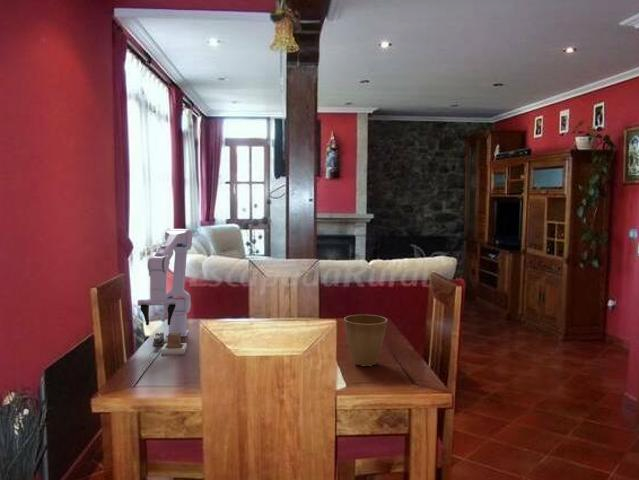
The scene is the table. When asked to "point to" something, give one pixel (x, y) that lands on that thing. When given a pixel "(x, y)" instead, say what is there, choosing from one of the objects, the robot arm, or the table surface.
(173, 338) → the block
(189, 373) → the table surface
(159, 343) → the crank base
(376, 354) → the plant pot
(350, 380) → the table surface
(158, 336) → the crank
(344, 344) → the table surface
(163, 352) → the tray
